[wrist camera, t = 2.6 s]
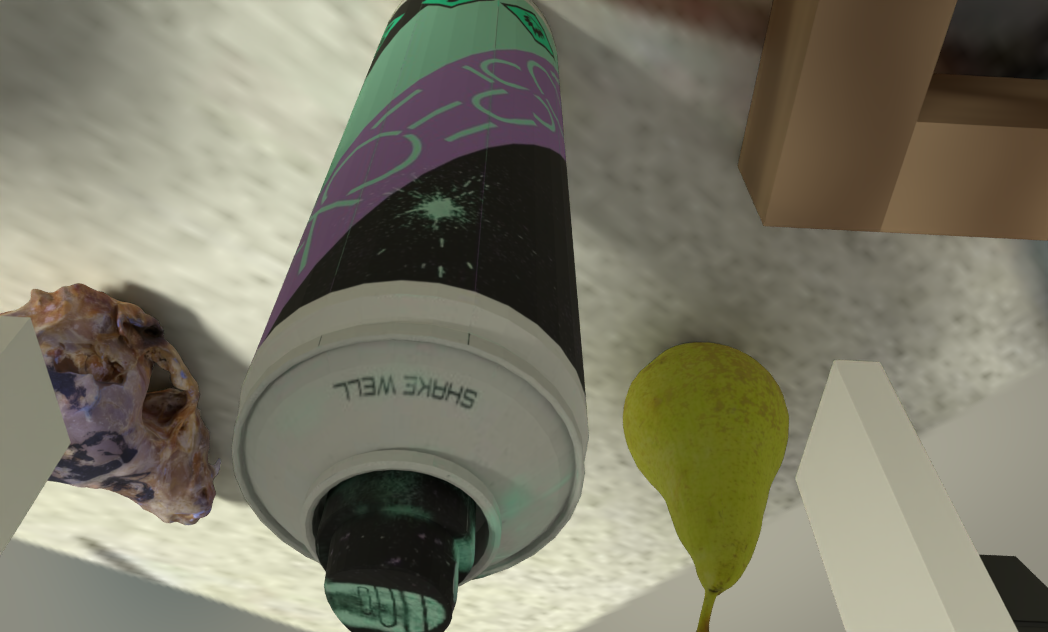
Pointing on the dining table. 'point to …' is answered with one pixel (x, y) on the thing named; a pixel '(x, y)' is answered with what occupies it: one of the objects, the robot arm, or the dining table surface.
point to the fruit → (709, 452)
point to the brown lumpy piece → (123, 403)
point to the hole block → (890, 128)
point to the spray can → (427, 328)
